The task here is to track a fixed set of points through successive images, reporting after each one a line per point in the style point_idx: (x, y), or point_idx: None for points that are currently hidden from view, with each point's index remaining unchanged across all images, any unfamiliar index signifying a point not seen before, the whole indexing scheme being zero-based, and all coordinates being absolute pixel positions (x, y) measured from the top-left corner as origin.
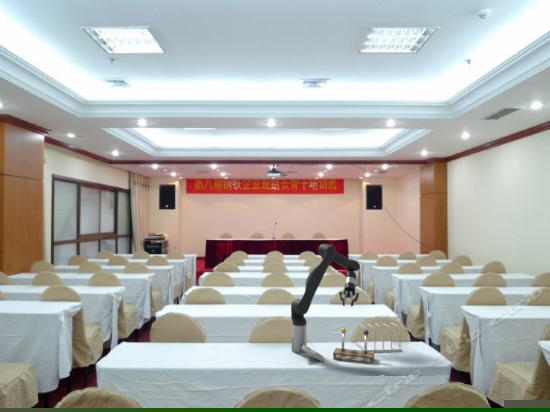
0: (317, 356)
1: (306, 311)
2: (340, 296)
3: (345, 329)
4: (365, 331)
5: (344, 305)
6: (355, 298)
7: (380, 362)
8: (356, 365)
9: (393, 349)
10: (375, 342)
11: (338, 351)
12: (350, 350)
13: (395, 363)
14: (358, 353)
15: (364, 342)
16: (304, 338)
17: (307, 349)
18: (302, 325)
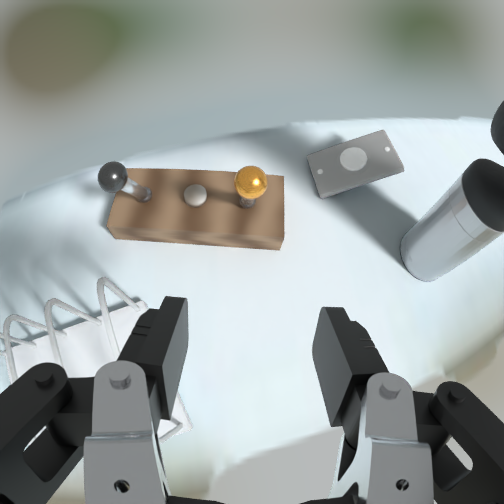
0: (331, 153)
1: (494, 123)
2: (491, 423)
3: (240, 170)
4: (116, 162)
5: (315, 354)
6: (38, 391)
7: (102, 203)
8: (189, 156)
9: (29, 341)
10: None
11: (264, 193)
12: (211, 217)
13: (57, 208)
14: (176, 189)
15: (138, 186)
16: (429, 212)
17: (374, 148)
18: (465, 170)
